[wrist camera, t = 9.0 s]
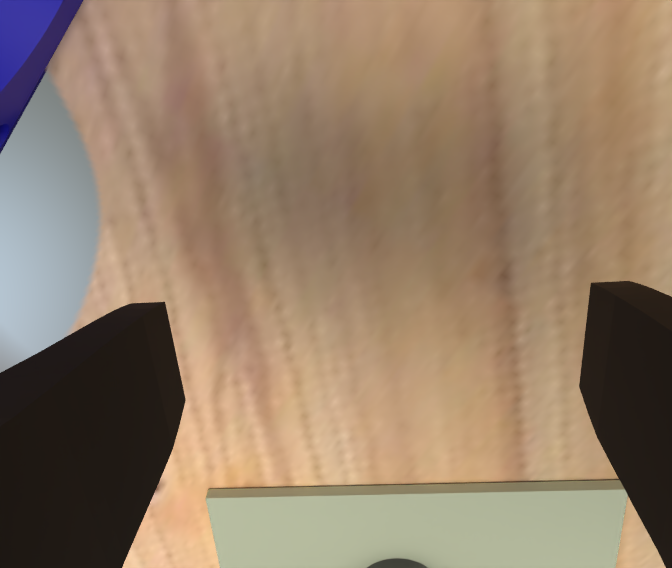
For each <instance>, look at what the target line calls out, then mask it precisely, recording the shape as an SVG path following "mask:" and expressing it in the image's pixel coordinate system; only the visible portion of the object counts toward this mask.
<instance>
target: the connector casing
mask: <svg viewBox="0 0 672 568" xmlns="http://www.w3.org/2000/svg"><path fill="white" fill-rule="evenodd" d="M367 568H428V567H426V566H425V565H423V564H421V563H419V562H416V561H413V560H409V559H402V558H392V559H386V560H381V561H379V562H376V563H374V564H372V565H370V566H369V567H367Z"/></svg>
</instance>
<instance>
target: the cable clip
mask: <svg viewBox="0 0 672 568" xmlns="http://www.w3.org/2000/svg"><path fill="white" fill-rule="evenodd" d="M82 2H83V0H0V154H1V152H2V150H3V148H4V146H5V145H6V143H7V141H8V139H9V137H10V136H11V134H12V132H13V130H14V128H15V127H16V125H17V123H18V121H19V120H20V118H21V116H22V114H23V112H24V110H25V109H26V107H27V105H28V103H29V102H30V100H31V98H32V96H33V94H34V93H35V91H36V89H37V87H38V86H39V84H40V82H41V80H42V78H43V77H44V75H45V73H46V71H47V69H46V66H47V65H48V63H49V61H50V59H51V57H52V56H53V54H54V52H55V50H56V48H57V47H58V45H59V43H60V41H61V39H62V38H63V36H64V34H65V32H66V30H67V29H68V27H69V25H70V23H71V21H72V20H73V18H74V16H75V14H76V12H77V11H78V9H79V7H80V5H81V4H82Z"/></svg>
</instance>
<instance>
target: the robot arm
mask: <svg viewBox="0 0 672 568" xmlns="http://www.w3.org/2000/svg"><path fill="white" fill-rule="evenodd" d="M579 387H580V390H581V393H582V396H583V399H584V402H585V405H586V408H587V411H588V414H589V417H590V419H591V422H592V425H593V427H594V430H595V433H596V435H597V438H598V440H599V442H600V443H601V445H602V447H603V449H604V451H605V453H606V455H607V457H608V459H609V461H610V463H611V465H612V466H613V468H614V470H615V472H616V474H617V476H618V478H619V480H620V481H621V483H622V485H623V487H624V489H625V491H626V493H627V494H628V496H629V498H630V500H631V502H632V504H633V506H634V507H635V509H636V511H637V513H638V515H639V517H640V519H641V520H642V522H643V524H644V526H645V528H646V530H647V532H648V533H649V535H650V537H651V539H652V541H653V543H654V545H655V546H656V548H657V550H658V552H659V554H660V556H661V558H662V560H663V562H664V564H665V566H666V568H672V297H671V296H669V295H666V294H664V293H661V292H659V291H657V290H654V289H652V288H649V287H647V286H644V285H641V284H638V283H634V282H631V281H620V282H598V283H591V287H590V296H589V305H588V313H587V322H586V331H585V340H584V349H583V358H582V367H581V376H580V384H579ZM184 404H185V395H184V390H183V385H182V381H181V376H180V371H179V366H178V362H177V357H176V352H175V347H174V343H173V338H172V333H171V328H170V324H169V319H168V314H167V309H166V305H165V302H154V303H132V304H128V305H126V306H123V307H121V308H118V309H116V310H114V311H112V312H110V313H108V314H106V315H105V316H103V317H101V318H99V319H97V320H95V321H94V322H92V323H90V324H88V325H86V326H85V327H83V328H81V329H79V330H78V331H76V332H74V333H72V334H71V335H69V336H67V337H65V338H64V339H62V340H60V341H58V342H56V343H55V344H53V345H51V346H50V347H48V348H46V349H44V350H42V351H41V352H39V353H37V354H35V355H33V356H31V357H30V358H28V359H26V360H24V361H22V362H20V363H18V364H16V365H14V366H13V367H11V368H9V369H7V370H5V371H3V372H1V373H0V568H122V567H123V564H124V561H125V559H126V557H127V554H128V552H129V550H130V548H131V545H132V543H133V541H134V538H135V536H136V534H137V531H138V529H139V527H140V525H141V522H142V520H143V518H144V515H145V513H146V511H147V508H148V506H149V504H150V501H151V499H152V497H153V495H154V492H155V490H156V488H157V485H158V483H159V481H160V478H161V476H162V473H163V471H164V469H165V466H166V464H167V462H168V459H169V457H170V454H171V452H172V449H173V446H174V443H175V439H176V436H177V432H178V428H179V425H180V420H181V416H182V412H183V408H184Z"/></svg>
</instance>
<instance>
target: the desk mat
mask: <svg viewBox="0 0 672 568" xmlns="http://www.w3.org/2000/svg"><path fill="white" fill-rule="evenodd" d="M627 496H628V494H627V493H626V491H625V489H624V487H623V485H622V483H621V481H620V480H596V481H551V482H506V483H461V484H416V485H370V486H325V487H280V488H235V489H208V492H207V496H206V503H207V507H208V512H209V517H210V522H211V527H212V531H213V536H214V541H215V546H216V551H217V555H218V560H219V565H220V568H367V567H369V566H370V565H372V564H374V563H376V562H379V561H381V560H386V559H392V558H402V559H409V560H413V561H416V562H419V563H421V564H423V565H425V566H426V567H428V568H615V567H616V561H617V555H618V550H619V544H620V538H621V532H622V526H623V520H624V514H625V508H626V502H627Z"/></svg>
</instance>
